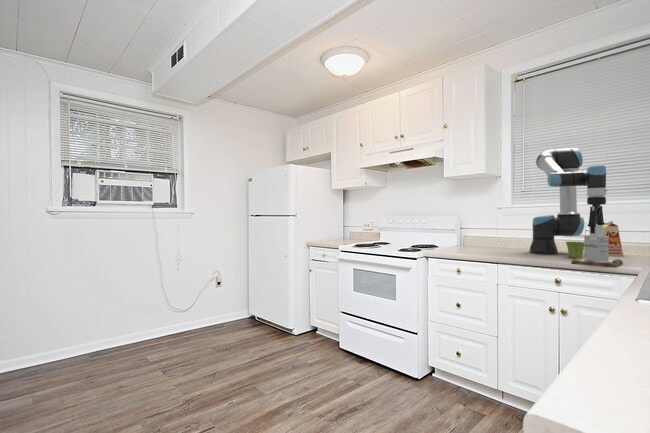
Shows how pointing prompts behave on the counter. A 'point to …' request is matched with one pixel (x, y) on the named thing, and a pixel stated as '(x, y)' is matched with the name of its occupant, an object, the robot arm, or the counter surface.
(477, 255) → the counter surface
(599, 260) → the supplement box
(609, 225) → the milk carton
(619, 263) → the brown square frame
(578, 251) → the plant pot
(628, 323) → the counter surface
